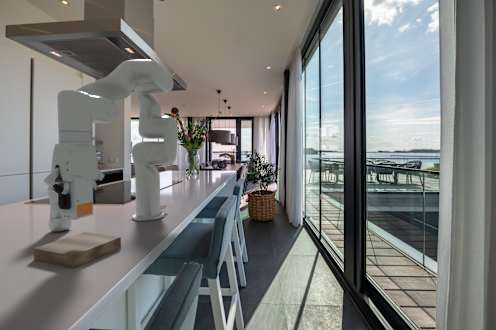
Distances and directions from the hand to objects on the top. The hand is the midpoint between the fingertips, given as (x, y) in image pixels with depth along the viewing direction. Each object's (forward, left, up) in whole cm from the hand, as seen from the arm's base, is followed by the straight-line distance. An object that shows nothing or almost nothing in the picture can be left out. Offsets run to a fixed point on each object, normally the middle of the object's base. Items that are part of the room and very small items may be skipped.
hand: (78, 205), depth 68 cm
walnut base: (0, 0, -13) cm, 13 cm away
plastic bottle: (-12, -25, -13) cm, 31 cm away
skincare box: (0, 0, -3) cm, 3 cm away
